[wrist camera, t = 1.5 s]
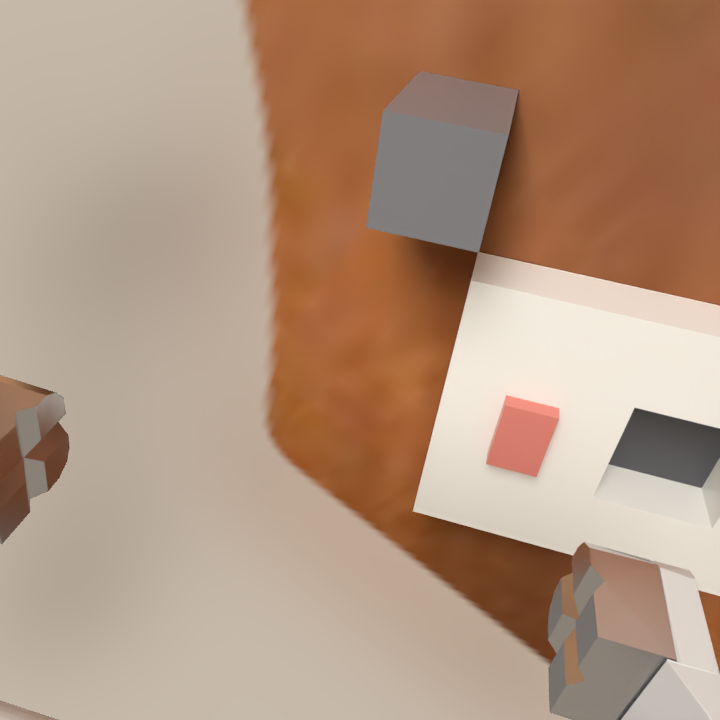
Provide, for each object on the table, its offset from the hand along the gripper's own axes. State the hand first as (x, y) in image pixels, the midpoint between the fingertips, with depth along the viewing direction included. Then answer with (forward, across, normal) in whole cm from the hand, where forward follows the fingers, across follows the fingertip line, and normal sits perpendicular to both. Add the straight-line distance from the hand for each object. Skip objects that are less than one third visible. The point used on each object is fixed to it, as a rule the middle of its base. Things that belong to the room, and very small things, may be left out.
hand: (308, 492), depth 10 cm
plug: (+21, 0, 0) cm, 21 cm away
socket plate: (+21, -11, +11) cm, 26 cm away
